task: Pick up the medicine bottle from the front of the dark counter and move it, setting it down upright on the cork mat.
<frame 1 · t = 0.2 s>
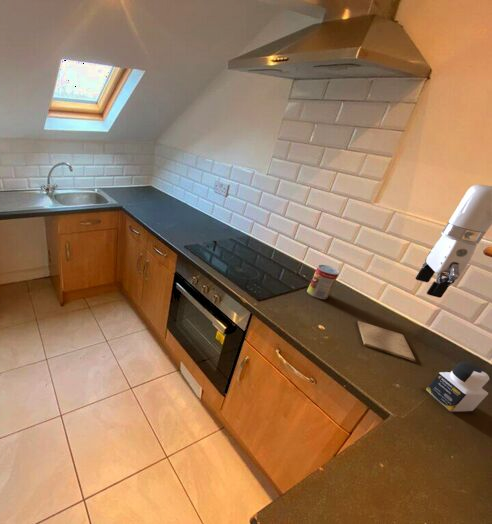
hand: (427, 287, 87), 25 cm above the countertop, tool pointing down, fingers open, 9 cm apart
medicine bottle: (447, 400, 83), on the countertop
cork mat: (383, 340, 103), on the countertop
canned food: (317, 294, 128), on the countertop
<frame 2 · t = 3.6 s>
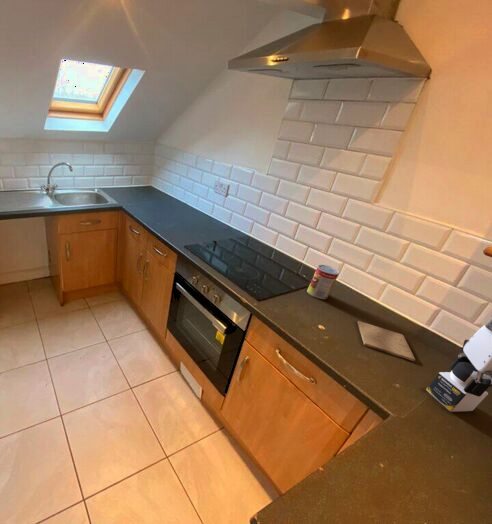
hand: (463, 381, 79), 7 cm above the countertop, tool pointing down, fingers closed on medicine bottle, 7 cm apart
medicine bottle: (447, 400, 83), on the countertop, touching gripper
everything else where it was.
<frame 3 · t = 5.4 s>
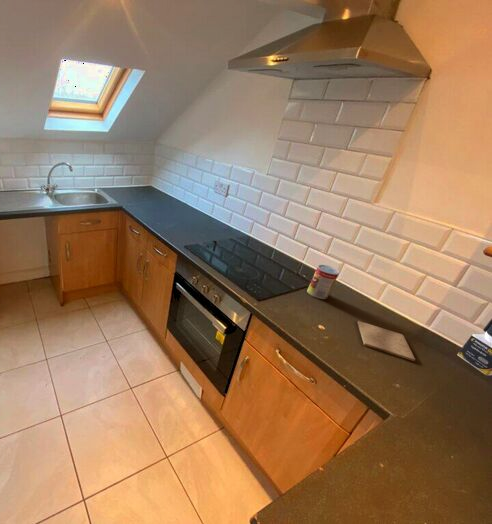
medicine bottle: (481, 365, 76), point 14 cm above the countertop, touching gripper
everything else where it was.
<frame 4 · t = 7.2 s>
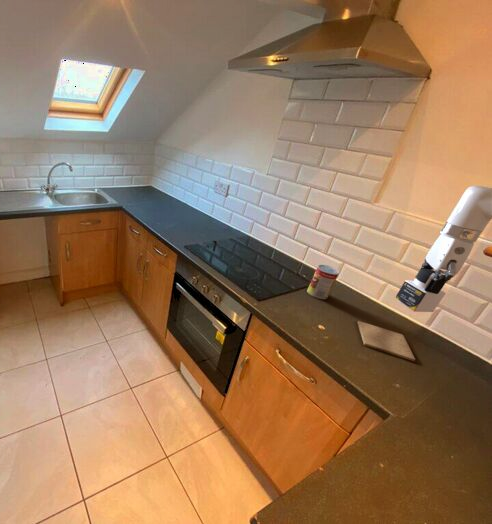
hand: (425, 285, 91), 24 cm above the countertop, tool pointing down, fingers closed on medicine bottle, 7 cm apart
medicine bottle: (412, 305, 94), point 16 cm above the countertop, touching gripper
everything else where it was.
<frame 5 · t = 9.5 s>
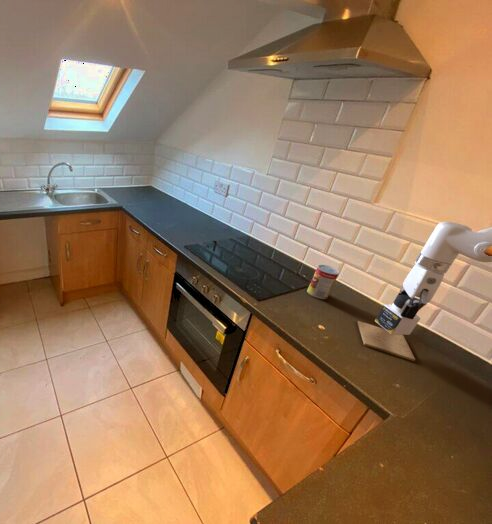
hand: (402, 310, 97), 13 cm above the countertop, tool pointing down, fingers closed on medicine bottle, 7 cm apart
medicine bottle: (391, 328, 101), point 5 cm above the countertop, touching gripper
everything else where it was.
when the fingers open (8 cm above the countertop, at t = 11.3 s): medicine bottle stays where it is, resting on cork mat.
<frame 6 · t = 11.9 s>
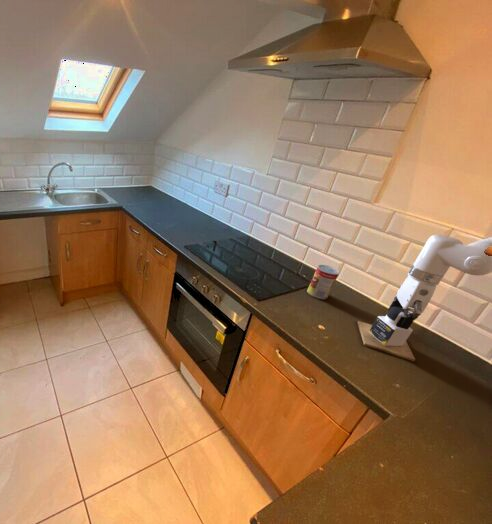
hand: (397, 319, 99), 9 cm above the countertop, tool pointing down, fingers open, 9 cm apart
medicine bottle: (384, 339, 103), point 1 cm above the countertop, touching cork mat
everything else where it was.
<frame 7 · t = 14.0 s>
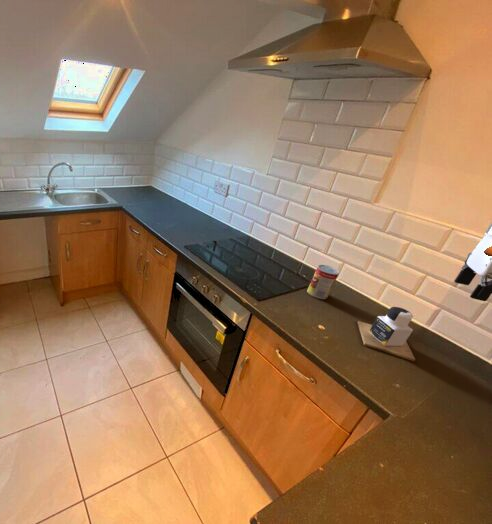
hand: (468, 291, 83), 27 cm above the countertop, tool pointing down, fingers open, 9 cm apart
nothing on the countertop moved.
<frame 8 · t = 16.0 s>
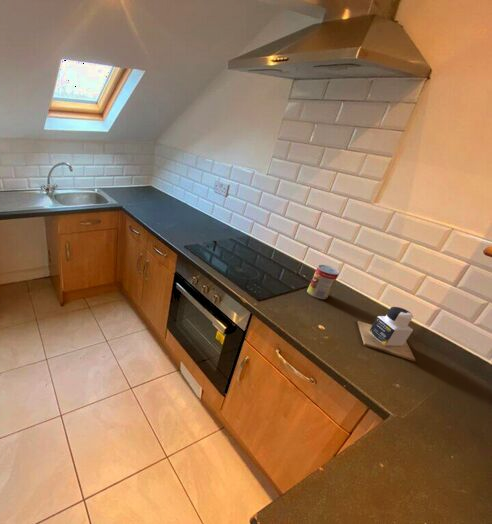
nothing on the countertop moved.
at the end: medicine bottle inside the target area on the cork mat (0.1 cm from its centre), point 0.6 cm above the cork mat's base; medicine bottle tilted 0°; the gripper is holding nothing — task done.
